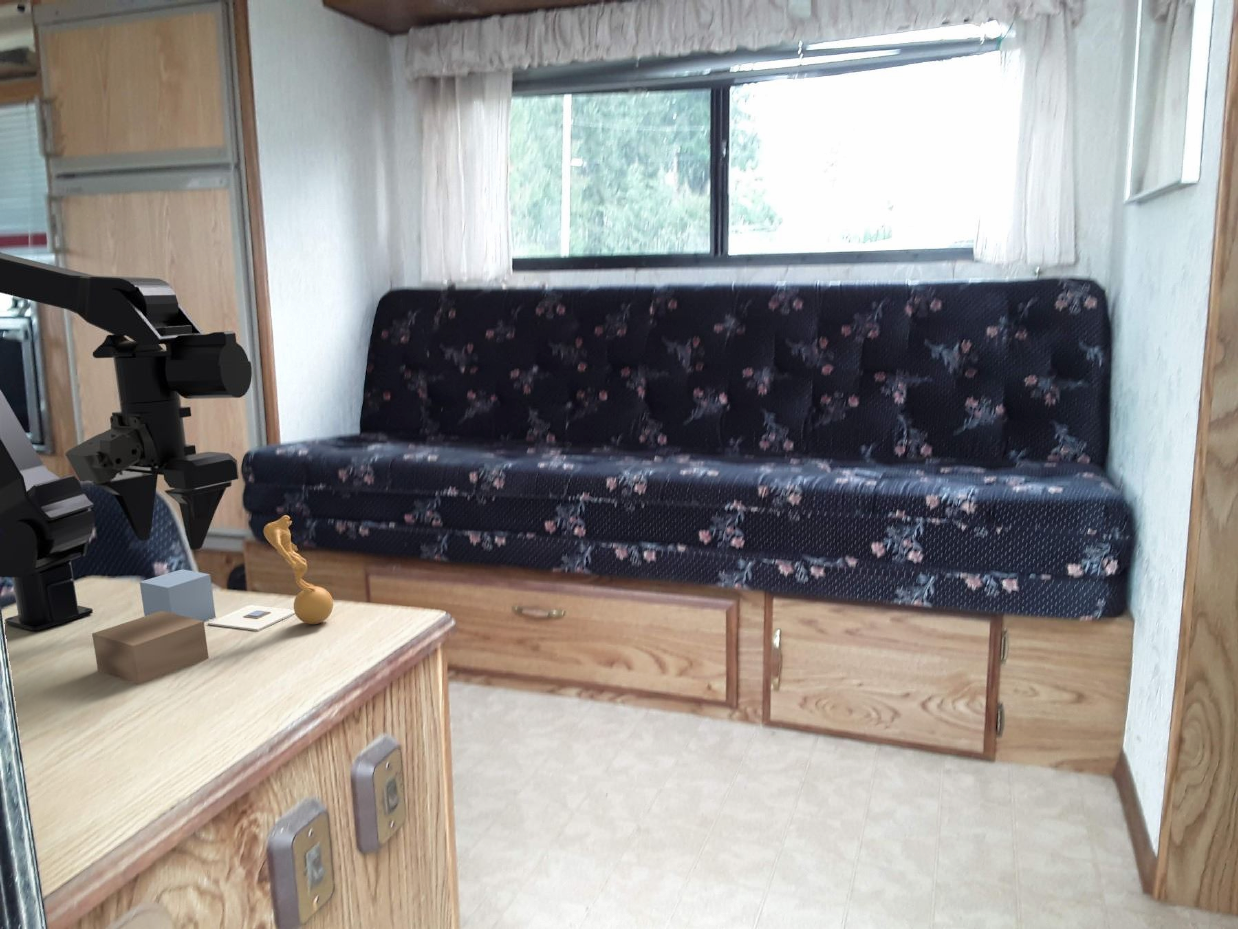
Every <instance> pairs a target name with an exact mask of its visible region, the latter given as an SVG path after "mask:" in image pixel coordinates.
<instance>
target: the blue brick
mask: <svg viewBox="0 0 1238 929" xmlns="http://www.w3.org/2000/svg"><path fill="white" fill-rule="evenodd" d="M139 586H140V588H139V589H140V594H141V601H142V608H143V615H144V616H147V615H151V614H154V613H157V612H160V611H165V612H169V613H173V614H177V615H181V616H185V617H189V618H193V619H196V620H200V621H204V622H207V621H210V620H213V619H215V618H216V617H217V616H216V611H215V610H216V609H215V602H214V594H213V587H212V579H211V574H209V573H204V572H200V571H194V570H189V569H183V568H182V569H179V570H175V571H171V572H168V573H165V574H162V575H159V576H158V575H157V576H155V577H152V578H147V579H145V580H142V581H140V582H139ZM144 616H143V617H144ZM209 619H210V620H209ZM216 619H217V618H216Z"/></svg>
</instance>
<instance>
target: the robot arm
mask: <svg viewBox="0 0 1238 929" xmlns="http://www.w3.org/2000/svg"><path fill="white" fill-rule="evenodd" d="M172 287H173V286H171V284H170V283H168V282H167V281H165V280H163V279H160V278H156V277H140V276H138V277H137V276H136V277H135V276H117V275H116V276H115V275H113V276H112V275H111V276H109V275H95V274H89V273H86V272H81V271H79V270H78V271H77V270H74V269H68V268H65V267H60V266H57V265H52V264H49V263H44V262H41V261H36V260H32V259H28V258H24V257H19V256H16V255H11V254H8V253H4V252H1V251H0V294H4V295H8V296H12V297H16V298H20V299H25V300H29V301H32V302H36V303H39V304H40V303H41V304H44V305H48V306H50V307H51V306H52V307H56V308H60V309H62V310H63V309H65V310H68V311H69V312H72V313H74V314H76V315H77V316H78V317H80V318H81V319H83V320H84V322H86V323H88V324H90V325H92V326H94V327H96V328H98V329H101V330H103V331H105V332H107V333H109V334H107V335H106V337H105V339H104V341H103V342H102V343H101V344H100V345H98V346H97V348H96V349H95V350H93V351H92V357H93V358H94V359H113V364H114V372H115V379H116V386H117V393H118V401H119V408H120V411H113V412H111V415H110V417H109V420H110V421H109V422H110V429H107V430H105V431H103V432H101V433H98V434H96V435H94V436H92V437H91V438H88V439H86V440H85V441H84V442H83V441H82V442H81V443H80V444H78V445H75V446H74V447H72V448H70V449H69V450H67V451H66V452H65V456H66V458H67V460H68V462H69V464H70V466H71V467H72V469H73V470H74V473H75V474H76V476H77V477H76V476H75V475H73V474H70V475H67V476H64V477H59V476H58V475H56V474H54V472H52V471H50V470H49V469H48V468H47V467H46V466H45V464H44V463H43V461H42V459H41V457H40V455H39V454H38V452H37V450H36V448H35V447H34V445H33V444H32V441H31V439H29V437H28V435H27V433H26V431H25V430H24V428H23V426H22V424H21V423H20V421H19V419H18V418H17V416H16V414H15V412H14V411H13V409H12V408H11V405H10V404H9V402H8V401H7V398H6V397H5V395H4V393H3V391H2V390H1V389H0V529H1V532H2V536H1V537H0V578H11V579H12V585H13V592H14V598H15V603H16V610H17V615H14V616H10V617H6V618H5V619H4V624H7V625H10V626H15V627H18V628H20V629H25V630H27V631H28V630H29V631H33V632H37V631H40V630H44V629H46V628H50V627H54V626H56V625H60V624H63V623H66V622H70V621H72V620H76V619H78V618H82V617H85V616H89V615H91V614H93V613H94V612H93V608H90V607H86V606H84V605H83V606H81V605H79V604H78V598H77V591H76V586H75V580H74V574H73V569H72V568H73V567H72V560H76V559H77V558H80V557H84V556H86V555H87V551H88V546H89V540H90V538H91V536H92V535H93V530H94V525H96V519H95V514H94V513H93V511H92V509H91V508H93V507H95V505H94V504H95V503H93V502H92V501H91V500H90V499H89V498H88V497H87V495H86V494H85V492H84V490H83V488H82V486H81V482H86V481H88V482H92V483H93V484H94V485H95V486H97V487H100V488H102V489H104V490H105V491H106V492H108V493H110V494H112V495H113V496H114V498H115V499H116V500H117V502H118V504H119V506H120V508H121V510H122V511H123V514H124V516H125V517H126V519H127V521H128V523H129V525H130V527H131V529H132V531H133V533H134V535H135V537H136V539H137V541H139V542H144V541H145V542H146V541H149V539H150V537H151V533H152V526H153V519H154V511H155V501H156V494H157V486H158V476H163V480H164V481H165V483H166V485H167V486H168V487H169V488H170V489H166V490H164V492H165V493H166V494H167V495H168V496H169V497H171V498H172V499H173V500H174V501H176V502H177V504H178V505H179V510H180V515H181V518H182V519H181V520H182V522H183V527H184V532H185V536H186V540H187V542H188V546H189V549H190V550H191V551H197V550H200V549H201V548H202V547H203V545H204V542H205V540H206V537H207V535H208V531H209V530H210V527H211V524H212V521H213V518H214V517H215V513H216V511H217V508H219V505H220V502H221V500H222V499H223V496H224V494H225V492H226V490H227V488H230V487H232V485H233V483H232V481H235V480H239V479H240V474H239V465H238V464H239V463H238V460H237V459H236V458H235V457H234V456H232V455H231V454H230V453H229V452H215V451H205V452H200V453H197V450H196V445H195V444H187V441H186V440H187V439H186V433H185V426H184V425H185V424H184V418H191V417H192V411H191V410H192V409H191V406H182V401H181V397H182V398H184V399H187V400H201V399H202V400H205V399H207V400H208V399H240V398H243V397H244V396H246V394H247V392H248V391H249V389H250V387H251V383H252V377H253V376H252V375H253V374H252V373H253V370H252V369H253V368H252V362H251V360H249V358H248V355H247V353H246V351H245V349H244V348H243V346H242V345H240V344H239V343H238V342H237V337H236V336H237V334H236V332H235V331H234V330H229V331H228V330H227V331H226V330H225V331H215V332H214V331H213V332H210V333H204V332H203V331H202V329H200V327H199V326H198V325H197V324H196V323H195V321H194V319H192V318H191V316H190V314H188V313H187V312H186V311H185V309H184V308H183V306H182V305H181V304H180V303H179V301H178V298H177V295H176V293H175V292H174V290H173V288H172ZM127 337H128V338H127ZM129 339H131V340H129ZM161 345H165V349H164V348H163V347H162V346H161Z"/></svg>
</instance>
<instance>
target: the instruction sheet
mask: <svg viewBox="0 0 1238 929" xmlns="http://www.w3.org/2000/svg"><path fill="white" fill-rule="evenodd" d="M293 614H294V615H296V614H295V612H294V609H288V608H279V607H272V606H271V607H270V606H263V605H252V604H249V605H247V606H244V607H242V608H239V609H236V610H235V611H232V612H230V613H228V614H226V615H223V616H220V617H219V618H218V617H217V618H216V619H214V620H211V621H209V622H207V624H208V625H210V626H217V627H224V628H232V629H233V628H234V629H241V630H249V631H255V632H259V631H262V630H264V629H266V628H268V627H271V626H272V625H274V624H277V623H279V622H281V621H283V620H285V619H287V618H289V617H292V616H294V615H293ZM291 615H292V616H291ZM282 619H283V620H282Z"/></svg>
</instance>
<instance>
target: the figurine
mask: <svg viewBox="0 0 1238 929" xmlns="http://www.w3.org/2000/svg"><path fill="white" fill-rule="evenodd" d="M290 519H291V517H290V516H289V515H286V514H285V515H283V516H281V517H280V518H279V519H277V520H275V521H273V522H269V523H267V524H265V526H264V528H263V534H264V537H265V539H266V540H267V541H268V542H269V544H271V546H272V547H273V548H275V549H276V551H277V553H278V555H281V556H282V558H284V561H286V562H287V564H288V565H289V566H291V568H292V570H293V571H294V580H295V583H296V584H297V586H299V588H301V590H300V592H298V594H297V595H296V596H295V598H294V601H293V610H294V612H295V614H294V615H295V617H297V619H299V621H301V622H303V623H304V624H307V625H317V624H320V623H323V622H324V621H326V620H327V619H328V618H329V617H330V615H331V613H332V612H333V609H334V600H333V597H332V595H331V594H330V592H329V591H328V590H327V589H325V588H324V587H321V586H316V585H314V584H313V583H308V582H306V581H305V580H303V579H302V578H303V577H304V575H305V574H306V573H307V571H308V565H307V564H308V563H307V559H305V558H304V557H302V556H301V555H300V554H299V553H297V551H299V549H298V548H297V547H298V546H297V545H295V544H294V543H293V542H292V540H291V538H292V537H291V536H292V534H291V530H290V529H289V527H290V526H291V525H292V524H293V523H292V522H293V521H292V520H290Z"/></svg>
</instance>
